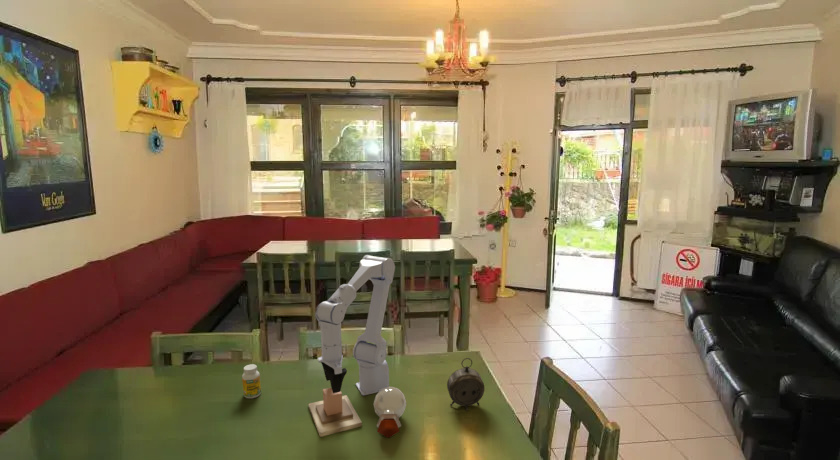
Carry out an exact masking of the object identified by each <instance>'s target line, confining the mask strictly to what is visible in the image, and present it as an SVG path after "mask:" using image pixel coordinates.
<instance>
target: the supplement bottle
mask: <svg viewBox="0 0 840 460" xmlns="http://www.w3.org/2000/svg"><path fill="white" fill-rule="evenodd" d="M241 380H242V393H243V397H245V398H246V399H254V398H255V399H256V398H257V397H259V396H260V395H261V393H262V386H261V385H262V384H261V375H260V372H259V371H258V366H257V365H256V364H254V363H251V364H247V365H245V366H244V367H243V374H242V376H241Z"/></svg>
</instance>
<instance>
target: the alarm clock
mask: <svg viewBox="0 0 840 460" xmlns="http://www.w3.org/2000/svg"><path fill="white" fill-rule="evenodd" d="M466 360H469V361H471V362H470V365H469V366H467V365H466V366H464V365H463V364H464V363H463V362H464V361H466ZM460 364H461V366H462V368H459V369H457V370H455V371H454V372H453V373H451V374H450V375H449V377H448V380H447V383H446V384H447V385H446V387H447V391H448V394H449V397H450V398H451V400H452V402H451V403H450V405H449V406H450V407H452V406H453V405H454V404H457V406H463V407H465V411H466V412H468V411H469V406H473V405H475V404H477V405H478V406H479V404H480V402H479V401H480V400H481V399H482V398H483V396H484V393H485V383H484V381H483V379H482V376H481V374H480V373H479V372H478V371H477V370H475V369H473V368H471V367H472V365H473V360H472V359H471V358H469V357H466V358H463V359H462V361H461V363H460Z"/></svg>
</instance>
